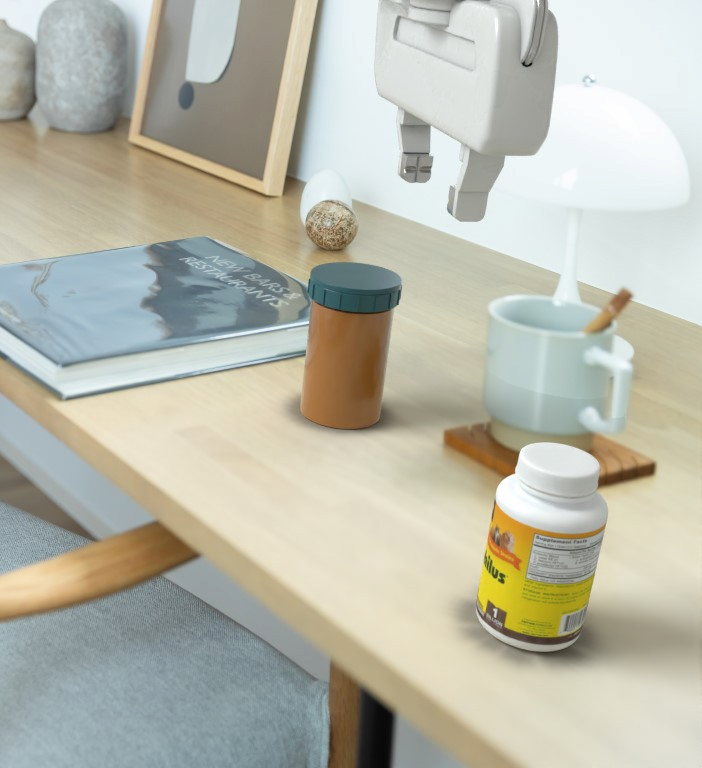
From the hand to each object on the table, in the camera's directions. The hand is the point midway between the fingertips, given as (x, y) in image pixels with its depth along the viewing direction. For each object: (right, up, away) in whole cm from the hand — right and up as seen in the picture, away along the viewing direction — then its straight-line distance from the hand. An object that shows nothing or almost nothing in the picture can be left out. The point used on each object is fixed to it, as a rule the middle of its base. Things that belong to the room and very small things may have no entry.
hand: (437, 198), depth 72 cm
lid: (-3, -4, +12) cm, 13 cm away
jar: (-3, -14, +17) cm, 22 cm away
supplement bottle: (+3, -25, -9) cm, 26 cm away
